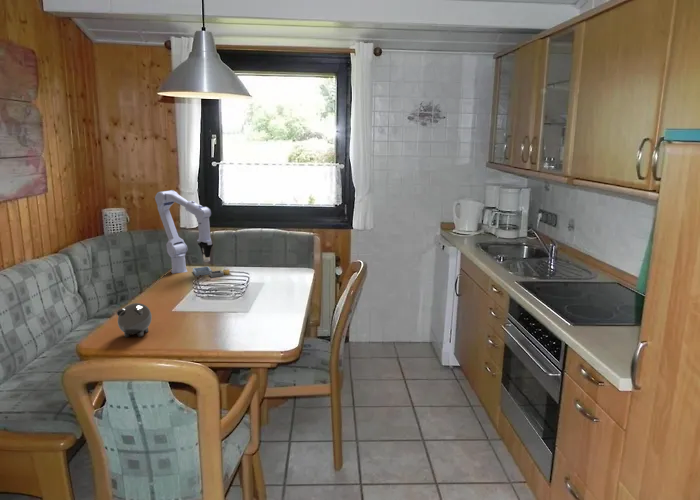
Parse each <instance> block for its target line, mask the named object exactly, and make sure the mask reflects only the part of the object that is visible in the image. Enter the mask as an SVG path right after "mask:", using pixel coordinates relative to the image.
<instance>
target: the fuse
mask: <svg viewBox="0 0 700 500" xmlns="http://www.w3.org/2000/svg"><path fill="white" fill-rule="evenodd" d="M202 249H203V248H202ZM202 257H203V263H204V262H205V263H207V262H210V261H211V256H210V257H205V254H204V250H203V255H202Z"/></svg>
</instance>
